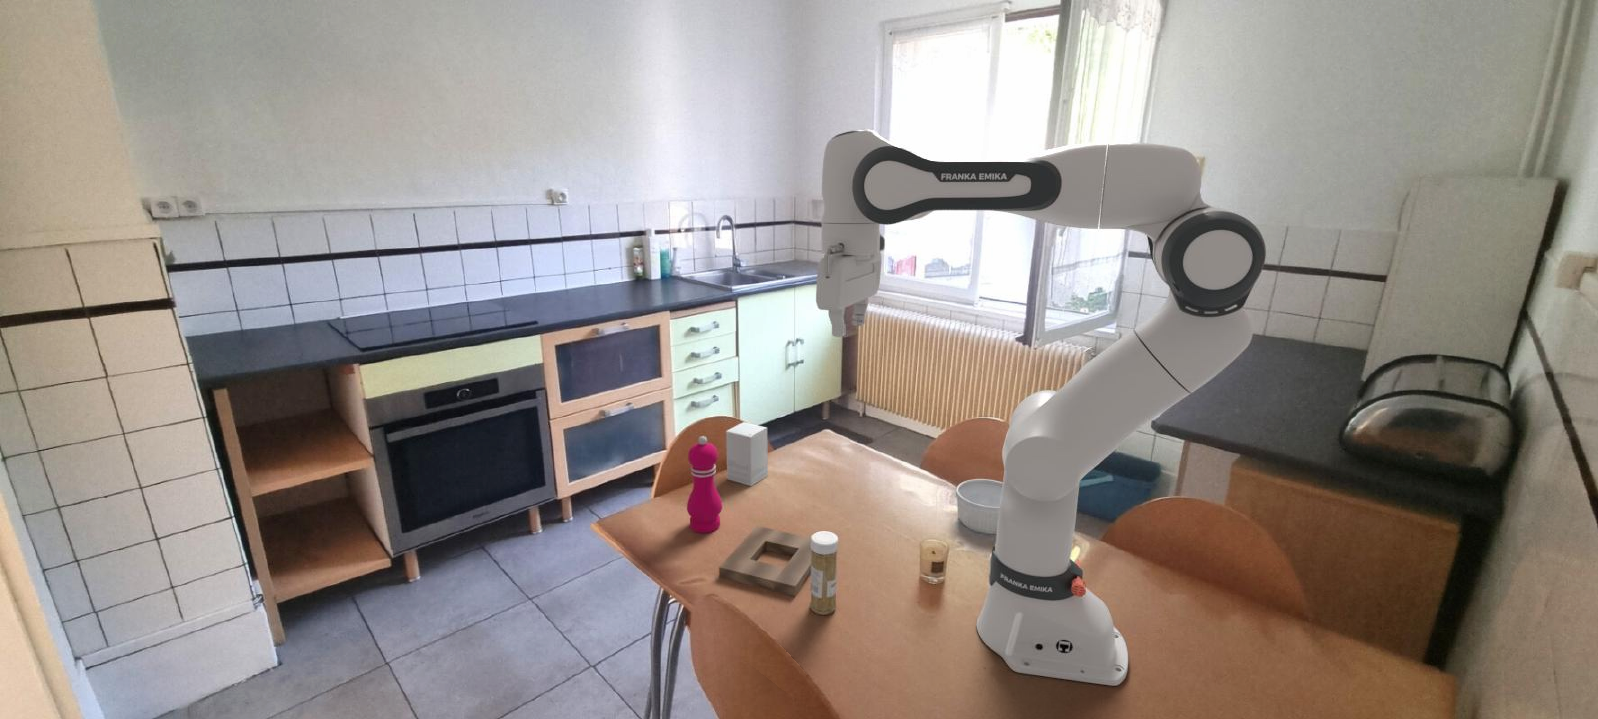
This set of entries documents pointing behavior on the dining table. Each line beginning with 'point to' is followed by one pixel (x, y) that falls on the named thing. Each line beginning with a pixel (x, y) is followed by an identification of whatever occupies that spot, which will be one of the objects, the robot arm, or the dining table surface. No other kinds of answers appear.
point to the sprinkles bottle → (823, 572)
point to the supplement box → (747, 453)
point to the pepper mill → (704, 488)
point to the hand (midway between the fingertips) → (849, 330)
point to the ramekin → (979, 504)
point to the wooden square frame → (767, 575)
